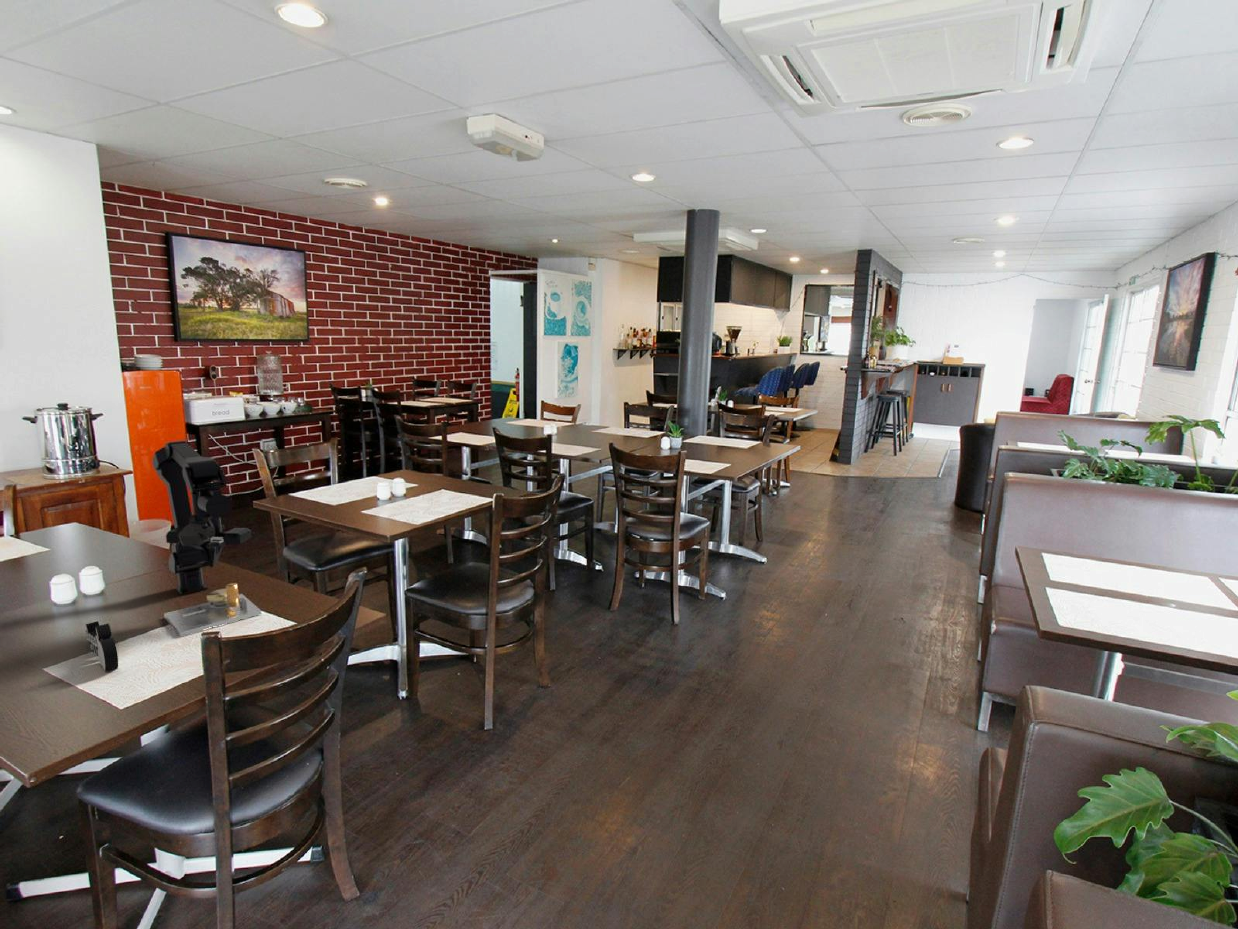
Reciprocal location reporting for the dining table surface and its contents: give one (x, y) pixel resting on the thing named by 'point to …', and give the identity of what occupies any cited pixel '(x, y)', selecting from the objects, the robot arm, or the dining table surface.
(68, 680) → the dining table surface
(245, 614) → the base
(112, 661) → the logo
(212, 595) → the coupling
